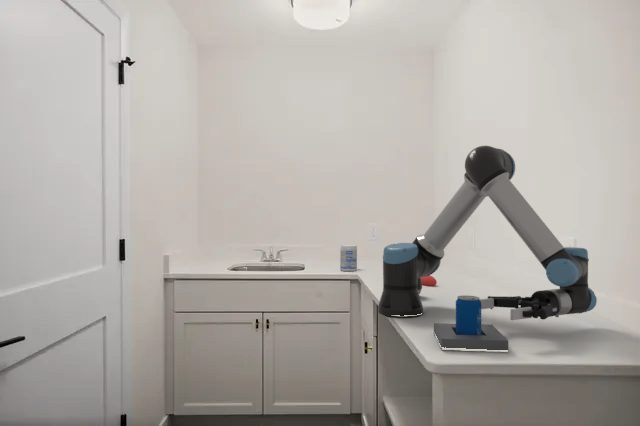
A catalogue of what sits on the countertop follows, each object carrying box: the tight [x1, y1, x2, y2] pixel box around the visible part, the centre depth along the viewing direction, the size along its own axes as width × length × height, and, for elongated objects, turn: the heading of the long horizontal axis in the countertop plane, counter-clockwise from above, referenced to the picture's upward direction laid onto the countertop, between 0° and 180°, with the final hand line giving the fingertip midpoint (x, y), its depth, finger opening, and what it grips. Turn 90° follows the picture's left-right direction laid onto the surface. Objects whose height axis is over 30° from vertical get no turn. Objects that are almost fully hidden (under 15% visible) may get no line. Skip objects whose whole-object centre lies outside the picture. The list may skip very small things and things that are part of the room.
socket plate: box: [433, 322, 509, 351], centre depth 123 cm, size 16×16×3 cm
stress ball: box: [421, 275, 438, 287], centre depth 217 cm, size 5×9×6 cm, turn 18°
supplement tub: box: [339, 244, 358, 272], centre depth 269 cm, size 10×10×15 cm
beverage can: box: [455, 295, 482, 335], centre depth 123 cm, size 6×6×12 cm
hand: (492, 309), depth 126 cm, fingers open, 13 cm apart
